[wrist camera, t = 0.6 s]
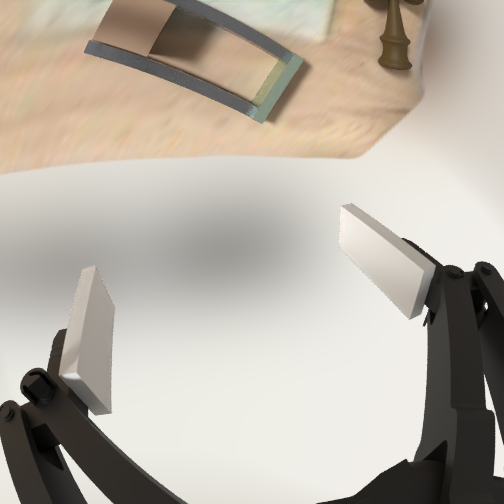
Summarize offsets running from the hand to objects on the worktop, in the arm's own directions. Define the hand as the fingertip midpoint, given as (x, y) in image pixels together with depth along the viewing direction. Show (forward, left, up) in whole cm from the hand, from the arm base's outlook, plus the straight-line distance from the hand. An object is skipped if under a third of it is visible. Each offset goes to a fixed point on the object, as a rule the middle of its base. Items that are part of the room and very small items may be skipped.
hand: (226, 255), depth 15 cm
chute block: (-9, -10, -27) cm, 30 cm away
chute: (-9, -3, -27) cm, 28 cm away
